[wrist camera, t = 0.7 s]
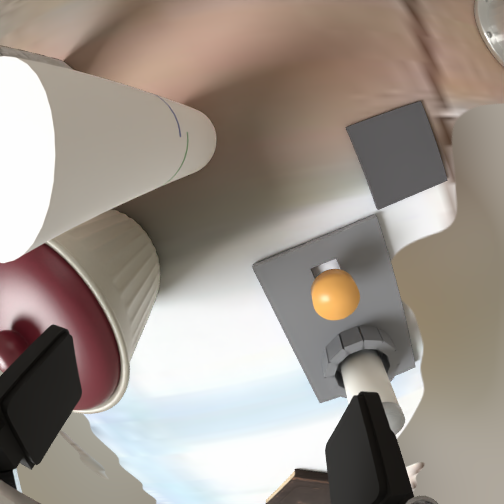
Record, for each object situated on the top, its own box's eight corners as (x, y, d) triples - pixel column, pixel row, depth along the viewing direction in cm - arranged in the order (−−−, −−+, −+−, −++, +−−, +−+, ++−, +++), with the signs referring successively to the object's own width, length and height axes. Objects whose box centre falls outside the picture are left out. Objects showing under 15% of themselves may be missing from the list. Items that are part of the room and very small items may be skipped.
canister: (166, 168, 32) (27, 215, 12) (201, 320, 38) (145, 467, 18) (42, 201, 34) (-88, 258, 14) (82, 326, 40) (-3, 427, 20)
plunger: (342, 253, 31) (351, 270, 27) (355, 289, 32) (365, 309, 28) (302, 270, 32) (305, 288, 28) (317, 305, 33) (322, 326, 29)
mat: (418, 101, 27) (420, 101, 27) (445, 179, 30) (447, 180, 29) (345, 127, 29) (346, 127, 29) (376, 208, 32) (378, 209, 31)
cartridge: (372, 333, 36) (401, 403, 24) (381, 362, 37) (407, 431, 26) (332, 348, 37) (348, 422, 25) (343, 377, 38) (359, 449, 27)
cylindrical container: (205, 97, 29) (36, 14, 6) (225, 163, 31) (86, 230, 8) (142, 121, 30) (-69, 122, 7) (161, 183, 32) (-29, 280, 9)
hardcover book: (354, 506, 54) (355, 513, 52) (264, 498, 53) (263, 506, 51) (394, 475, 49) (396, 483, 47) (295, 466, 48) (295, 476, 46)
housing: (374, 214, 32) (385, 224, 28) (413, 362, 38) (422, 380, 34) (253, 264, 35) (250, 279, 31) (319, 398, 41) (321, 418, 37)
